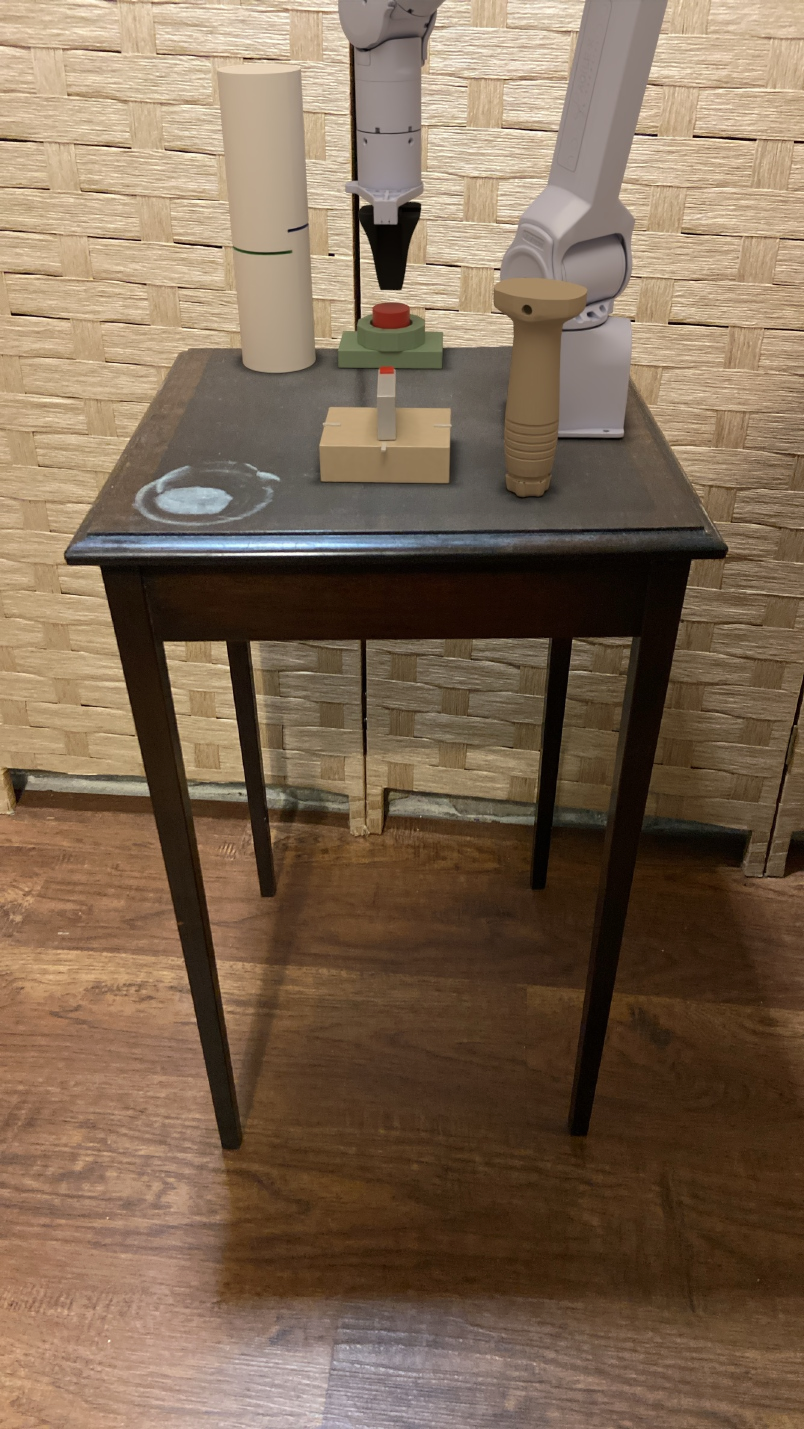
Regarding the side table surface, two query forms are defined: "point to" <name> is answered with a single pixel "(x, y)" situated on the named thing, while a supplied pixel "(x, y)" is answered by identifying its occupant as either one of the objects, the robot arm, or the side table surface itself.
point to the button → (391, 315)
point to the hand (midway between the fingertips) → (391, 288)
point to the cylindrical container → (268, 213)
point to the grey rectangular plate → (386, 403)
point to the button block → (391, 346)
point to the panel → (386, 446)
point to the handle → (534, 375)
